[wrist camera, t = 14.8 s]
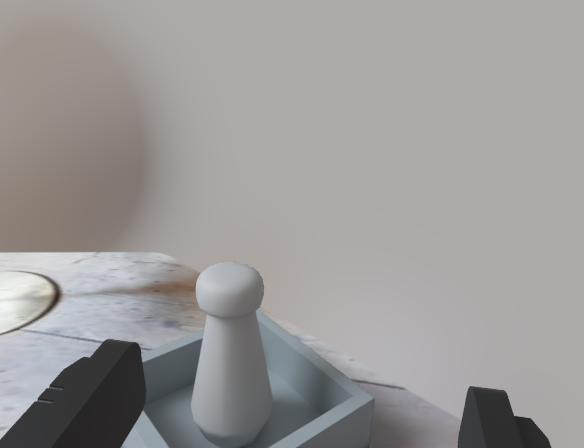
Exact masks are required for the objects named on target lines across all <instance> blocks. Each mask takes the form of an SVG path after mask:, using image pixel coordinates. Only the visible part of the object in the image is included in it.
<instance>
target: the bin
mask: <svg viewBox="0 0 584 448" xmlns="http://www.w3.org/2000/svg"><path fill="white" fill-rule="evenodd" d="M256 315H257V320H258V325H259V330H260V335H261V340H262V345H263V350H264V356H265V361H266V366H267V371H268V376H269V381H270V386H271V391H272V396H273V403H272V408H271V413H270V418H269V420H268V421H267V423H266V424H265V425H264V427H263V428H262V429H261V431H260V432H259V433H258V435H257V437H256V438H255V440H254V442H253V444H252V445H249V446H246V447H242V448H369V441H370V432H371V424H372V415H373V407H374V397H373V396H371V395H370V394H369V393H368V392H366V391H365V390H364V389H362V388H361V387H360V386H358V385H357V384H356V383H354V382H353V381H352V380H350V379H349V378H348V377H347V376H345V375H344V374H343V373H341V372H340V371H339V370H337V369H336V368H335V367H333V366H332V365H331V364H329V363H328V362H327V361H326V360H324V359H323V358H322V357H320V356H319V355H318V354H316V353H315V352H314V351H312V350H311V349H310V348H308V347H307V346H306V345H305V344H303V343H302V342H301V341H299V340H298V339H297V338H295V337H294V336H293V335H291V334H290V333H289V332H287V331H286V330H285V329H284V328H282V327H281V326H280V325H278V324H277V323H276V322H274V321H273V320H272V319H270V318H269V317H268V316H266V315H265V314H264V313H263V312H261V311H260V310H259V309H257V310H256ZM204 330H205V329H203V330H201V331H198V332H196V333H193V334H191V335H188V336H186V337H183V338H180V339H178V340H175V341H173V342H170V343H168V344H165V345H163V346H160V347H158V348H155V349H153V350H150V351H147V352H145V353H142V354H141V356H142V363H143V370H144V377H145V384H146V400H145V405H144V408H143V411H142V413H141V415H140V417H139V418H138V420H137V422H136V423H135V425H134V427H133V428H132V430H131V432H130V433H129V435H128V437H127V438H126V440H125V441H124V443H123V445H122V446H121V448H220V447H218V446H216V445H215V444H213V443H211V442H209V441H207V440H206V438H205V437H204V436H203V434H202V433H201V431H200V430H199V429H198V427H197V426H196V425H195V422H194V419H193V414H192V409H191V400H192V395H193V390H194V384H195V379H196V373H197V368H198V363H199V357H200V352H201V346H202V341H203V336H204Z"/></svg>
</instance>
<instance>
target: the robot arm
mask: <svg viewBox="0 0 584 448" xmlns="http://www.w3.org/2000/svg"><path fill="white" fill-rule="evenodd" d="M145 400H146V384H145V377H144V370H143V363H142V356H141V349H140V346H139V344H138V343H136V342H128V341H120V340H113V339H108V340H105V341H104V342H103V343H102V344H101V345H100V347H99V348H98V349H97V350H96V351H95V352H94V354H93V355H92V356H91V357H90V358H88V357H83V358H81V359H79V360H78V361H76V362H75V363H73V364H72V365H70V366H68V367H67V368H65V369H64V370H63V371H62V372H61V373H60V374H59V375H58V376H57V377H56V379H55V380H54V381H53V382H52V383H51V384H50V387H49V389H48V388H47V389H46V390H45V391H44V392H43V393H42V394H41V395H40V396H39V397H38V401H37V402H34V403H33V404H32V405H31V406H30V407H29V409H28V410H27V411H26V412H25V413H24V414H23V415H22V416H21V417H20V419H19V420H18V421H17V422H16V423H15V424H14V425H13V426H12V427H11V429H10V430H9V431H8V432H7V433H6V434H5V435H4V436H3V437H2V438H1V440H0V448H121V446H122V445H123V443H124V441H125V440H126V438H127V437H128V435H129V433H130V432H131V430H132V428H133V427H134V425H135V423H136V422H137V420H138V418H139V417H140V415H141V413H142V411H143V408H144V405H145ZM458 448H551V446H550V443H549V440H548V438H547V437H546V436H545V435H544V434H543V432H542V431H541V430H540V429H539V428H538V426H537V425H536V424H535V423H534V422H533V420H531V418H525V417H517V416H514V415H513V412H512V408H511V405H510V402H509V399H508V396H507V393H506V392H505V391H504V390H496V389H489V388H481V387H473V386H470V387H469V389H468V392H467V396H466V402H465V407H464V412H463V417H462V422H461V427H460V432H459V438H458Z"/></svg>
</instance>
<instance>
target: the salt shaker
mask: <svg viewBox="0 0 584 448" xmlns="http://www.w3.org/2000/svg"><path fill="white" fill-rule="evenodd" d="M263 295H264V285H263V279H262V277H261V276H260V274H259V272H258V271H257V270H255V269H254V268H253V267H251V266H249V265H247V264H243V263H237V262H225V263H220V264H216V265H213V266H211V267H209V268H208V269H206V270H204V271H203V272H202V273H201V274H200V276H199V278H198V279H197V283H196V296H197V301H198V304H199V307H200V309H201V310H202V311H203V312H205V313H206V314H207V319H206V325H205V330H204V336H203V341H202V346H201V352H200V357H199V363H198V368H197V373H196V379H195V384H194V390H193V395H192V400H191V409H192V414H193V419H194V422H195V425H196V426H197V427H198V429H199V430H200V431H201V433H202V434H203V436H204V437H205V438H206V440H207V441H209V442H211V443H213V444H215V445H216V446H218V447H220V448H242V447H246V446H249V445H252V444H253V442H254V440H255V438H256V437H257V435H258V433H259V432H260V431H261V429H262V428H263V427H264V425H265V424H266V423H267V421H268V420H269V418H270V413H271V408H272V403H273V396H272V391H271V386H270V381H269V376H268V371H267V366H266V361H265V356H264V350H263V345H262V340H261V335H260V330H259V325H258V320H257V315H256V310H257V309H258V308H259V307H260V305H261V302H262V299H263Z"/></svg>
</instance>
